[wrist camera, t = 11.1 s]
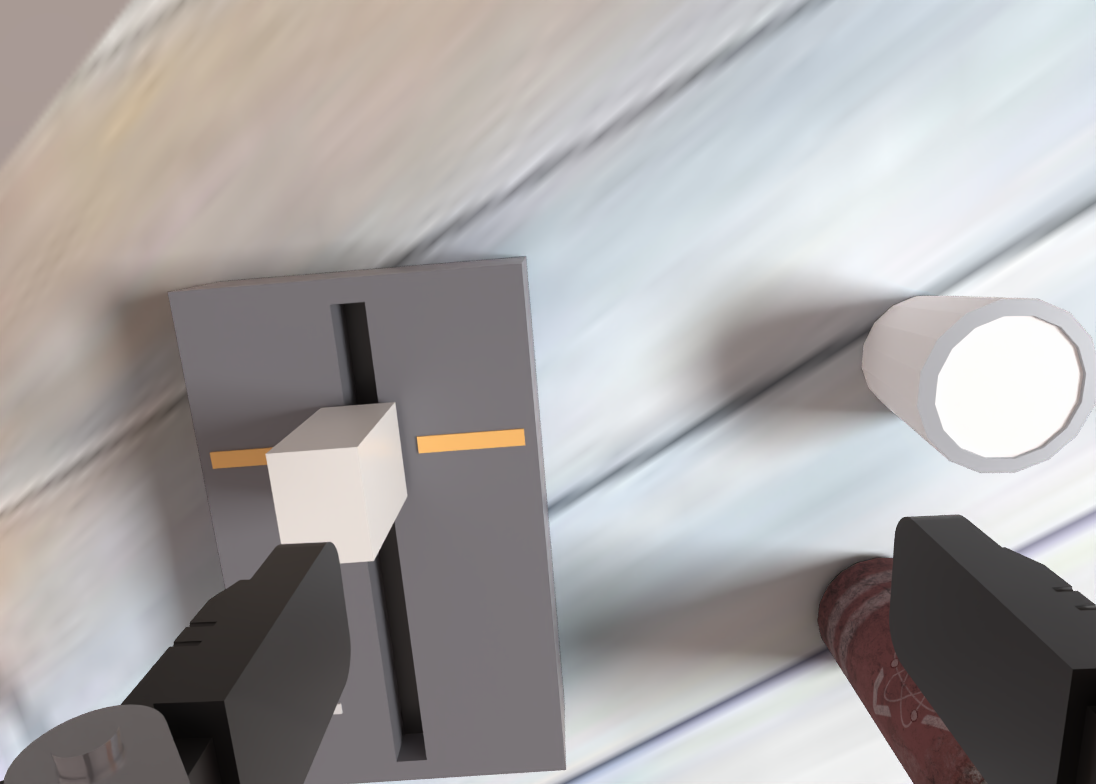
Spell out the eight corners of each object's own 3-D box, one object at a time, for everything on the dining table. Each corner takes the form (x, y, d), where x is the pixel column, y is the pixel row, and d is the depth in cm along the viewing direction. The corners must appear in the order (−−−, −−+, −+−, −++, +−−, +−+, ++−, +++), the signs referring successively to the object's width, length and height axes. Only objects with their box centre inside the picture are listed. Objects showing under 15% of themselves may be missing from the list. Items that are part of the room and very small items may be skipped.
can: (806, 663, 39) (942, 905, 25) (822, 550, 38) (975, 741, 24) (923, 669, 39) (1122, 914, 25) (944, 555, 38) (1167, 750, 24)
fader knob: (335, 396, 32) (265, 453, 24) (404, 390, 32) (357, 446, 24) (347, 484, 33) (285, 567, 25) (415, 479, 33) (373, 561, 25)
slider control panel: (221, 281, 35) (166, 292, 30) (526, 256, 34) (521, 263, 29) (299, 719, 40) (263, 791, 35) (564, 701, 40) (565, 771, 35)
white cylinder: (970, 437, 36) (1067, 489, 29) (831, 412, 36) (895, 458, 29) (1016, 296, 35) (1130, 316, 28) (871, 268, 34) (949, 281, 28)
